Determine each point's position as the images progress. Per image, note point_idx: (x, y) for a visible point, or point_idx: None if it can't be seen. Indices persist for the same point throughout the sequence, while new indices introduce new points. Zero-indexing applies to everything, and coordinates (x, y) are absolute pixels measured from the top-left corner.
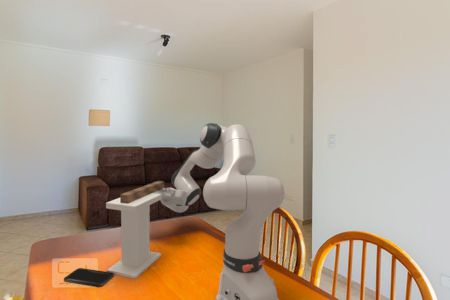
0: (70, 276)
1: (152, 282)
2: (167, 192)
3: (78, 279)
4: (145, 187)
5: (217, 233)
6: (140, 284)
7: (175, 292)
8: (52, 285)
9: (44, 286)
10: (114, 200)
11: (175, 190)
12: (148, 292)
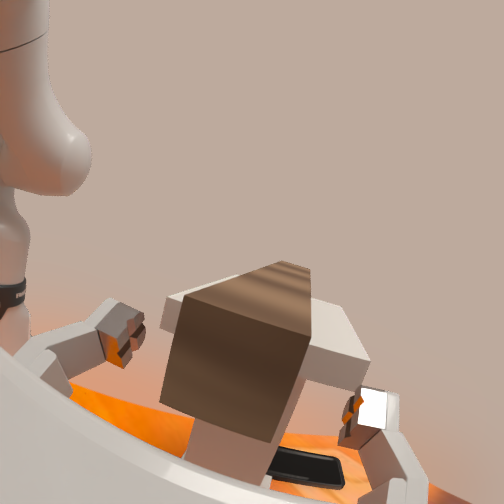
0: (333, 465)
1: (142, 433)
2: (113, 357)
3: (309, 457)
4: (279, 271)
5: None
6: (169, 434)
7: (96, 396)
8: (341, 452)
9: (351, 450)
10: (337, 310)
11: (8, 354)
12: (148, 412)
